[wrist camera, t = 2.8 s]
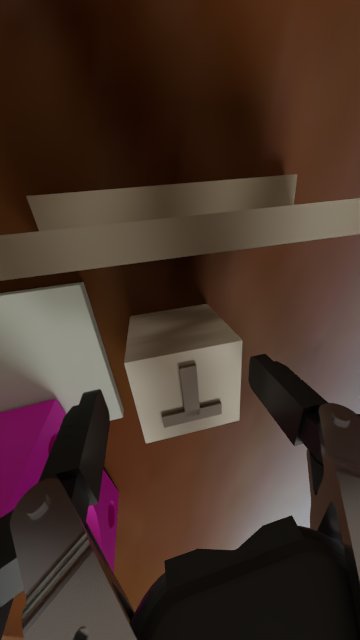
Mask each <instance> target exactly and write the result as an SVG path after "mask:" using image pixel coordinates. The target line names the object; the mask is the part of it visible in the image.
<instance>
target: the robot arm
mask: <svg viewBox="0 0 360 640" xmlns="http://www.w3.org/2000/svg"><path fill="white" fill-rule="evenodd" d="M249 384H250V386H251V388H252V390H253V391H254V393H255V394H256V395H257V397H258V398H259V399H260V401H261V402H262V403H263V405H264V406H265V407H266V409H267V410H268V411H269V413H270V414H271V415H272V417H273V418H274V420H275V421H276V422H277V424H278V425H279V426H280V428H281V429H282V430H283V432H284V433H285V434H286V436H287V437H288V438H289V440H290V441H291V442H292V444H293V445H294V446H296V445H300V444H303V443H304V445H305V446H306V447H307V462H308V472H309V482H310V492H311V511H310V528H306V527H302V526H297V524H296V522H295V520H294V519H293V517H292V516H289V517H286V518H283V519H280V520H278V521H275V522H272V523H269V524H266V525H264V526H262V527H261V528H260V529H259V530H258V531H257V532H255V533H254V534H253V535H252V536H251V537H250V538H249V539H248V540H247V541H246V542H244V543H243V544H242V545H241V546H240V547H239V548H238V549H236V550H213V549H196V550H194V551H191V552H188V553H185V554H182V555H179V556H177V557H174V558H171V559H168V560H165V573H164V574H163V575H162V576H160V577H159V578H158V579H157V581H156V582H155V583H154V584H153V585H152V586H151V587H150V589H149V590H148V592H147V593H146V594H145V596H144V597H143V599H142V601H141V603H140V604H139V606H138V608H137V610H136V612H134V610H133V608H132V606H131V604H130V602H129V600H128V598H127V596H126V594H125V593H124V591H123V589H122V587H121V585H120V584H119V582H118V580H117V578H116V577H115V575H114V573H113V571H112V569H111V568H110V566H109V564H108V562H107V560H106V558H105V556H104V554H103V552H102V550H101V548H100V546H99V545H98V543H97V541H96V539H95V537H94V535H93V533H92V531H91V529H90V527H89V525H88V523H87V521H86V519H87V513H88V507H89V506H91V505H95V504H98V503H99V496H100V489H101V482H102V474H103V467H104V460H105V453H106V446H107V439H108V432H109V425H110V415H109V410H108V407H107V405H106V402H105V399H104V396H103V393H102V391H101V389H97V390H93V391H88V392H84V393H83V394H82V397H81V400H80V403H79V405H76V406H72V408H71V409H70V410H69V411H68V413H67V414H66V415H65V416H64V418H63V421H62V423H61V426H60V430H59V431H58V434H57V436H56V440H55V441H54V444H53V446H52V449H51V451H50V454H49V456H48V459H47V461H46V464H45V467H44V469H43V472H42V474H41V477H40V479H39V481H38V483H37V484H35V485H34V486H33V487H32V488H30V489H29V490H28V491H27V492H26V493H25V494H24V495H23V497H22V498H21V499H20V500H19V502H18V503H17V505H16V507H15V509H14V510H12V511H11V512H9V513H7V514H6V515H4V516H2V517H1V518H0V640H1V638H2V635H3V632H4V628H5V625H6V622H7V618H8V615H9V612H10V608H11V605H12V602H13V598H14V597H15V596H16V595H18V594H19V593H20V592H21V591H23V590H24V591H25V595H26V602H27V603H26V608H25V609H24V610H23V613H22V628H23V635H24V640H360V414H356V413H354V412H353V411H352V410H350V409H348V408H346V407H344V406H342V405H338V404H334V403H328V402H327V401H326V400H324V399H323V398H322V397H321V396H320V395H319V394H318V393H316V392H315V391H314V390H313V389H312V388H311V387H310V386H308V385H307V384H306V383H305V382H304V381H303V380H301V379H300V378H299V377H298V376H297V375H296V374H294V372H293V371H291V370H290V369H289V368H288V367H287V366H285V365H283V364H281V363H279V362H277V361H275V362H274V361H273V360H271V359H270V358H269V357H268V356H267V355H266V354H262V355H257V356H253V357H251V358H250V364H249Z"/></svg>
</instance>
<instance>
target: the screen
mask: <svg viewBox="0 0 360 640" xmlns="http://www.w3.org/2000/svg"><path fill="white" fill-rule="evenodd" d="M296 181H297V174H293V175H281V176H268V177H256V178H244V179H231V180H219V181H207V182H194V183H182V184H170V185H157V186H145V187H132V188H120V189H108V190H95V191H83V192H71V193H58V194H46V195H34V196H26V197H27V200H28V203H29V205H30V208H31V211H32V213H33V216H34V219H35V221H36V224H37V227H38V230H39V231H38V232H28V233H18V234H9V235H0V281H3V280H11V279H18V278H26V277H34V276H41V275H49V274H57V273H64V272H72V271H80V270H87V269H95V268H103V267H110V266H118V265H126V264H133V263H141V262H148V261H156V260H164V259H171V258H179V257H187V256H194V255H202V254H210V253H217V252H225V251H233V250H240V249H248V248H256V247H263V246H271V245H279V244H286V243H294V242H302V241H309V240H317V239H325V238H332V237H340V236H348V235H355V234H360V198H357V199H348V200H338V201H328V202H319V203H309V204H299V205H294V197H295V189H296Z"/></svg>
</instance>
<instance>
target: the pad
mask: <svg viewBox="0 0 360 640" xmlns="http://www.w3.org/2000/svg"><path fill="white" fill-rule="evenodd" d="M97 389H101V391H102V393H103V396H104V399H105V402H106V405H107V407H108V410H109V415H110V420H114V419H119V418H123V411H124V409H123V406H122V403H121V400H120V397H119V393H118V390H117V387H116V384H115V381H114V377H113V374H112V371H111V368H110V365H109V361H108V358H107V355H106V352H105V349H104V346H103V342H102V339H101V336H100V333H99V330H98V326H97V323H96V320H95V317H94V314H93V310H92V307H91V304H90V301H89V298H88V294H87V291H86V288H85V285H84V282H78V283H71V284H64V285H56V286H49V287H42V288H35V289H27V290H20V291H13V292H6V293H0V413H1V412H5V411H9V410H13V409H17V408H21V407H25V406H29V405H33V404H37V403H41V402H45V401H49V400H53V399H56V400H57V401H58V403H59V404H60V406H61V407H62V409H63V410H64V412H65V413H66V414H67V413H68V411H69V410H70V409H71V408H72V406H76V405H79V403H80V400H81V397H82V394H83V393H84V392H88V391H93V390H97Z"/></svg>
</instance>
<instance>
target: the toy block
mask: <svg viewBox="0 0 360 640" xmlns="http://www.w3.org/2000/svg"><path fill="white" fill-rule="evenodd" d="M65 415H66V413H65V412H64V410H63V409H62V407H61V406H60V404H59V403H58V401H57V400H56V399H53V400H49V401H45V402H41V403H37V404H33V405H29V406H25V407H21V408H17V409H13V410H9V411H5V412H1V413H0V518H1V517H2V516H4V515H6V514H7V513H9V512H11V511H12V510H14V509H15V507H16V505H17V503H18V502H19V500H20V499H21V498H22V497H23V495H24V494H25V493H26V492H27V491H28V490H29V489H30V488H32V487H33V486H34V485H35V484H37V483H38V481H39V479H40V477H41V474H42V472H43V469H44V467H45V464H46V461H47V459H48V456H49V454H50V451H51V449H52V446H53V444H54V441H55V440H56V436H57V434H58V431H59V430H60V426H61V423H62V421H63V418H64V416H65ZM118 499H119V491H118V490H117V489H116V487H115V486H114V484H113V483H112V481H111V480H110V478H109V477H108V475H107V474H106V472H105V471H104V469H103V474H102V482H101V489H100V496H99V503H98V504H95V505H91V506H89V507H88V513H87V519H86V521H87V523H88V525H89V527H90V529H91V531H92V533H93V535H94V537H95V539H96V541H97V543H98V545H99V546H100V548H101V550H102V552H103V554H104V556H105V558H106V560H107V562H108V564H109V566H110V568H111V569H112V571H113V573H114V558H115V543H116V528H117V513H118Z"/></svg>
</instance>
